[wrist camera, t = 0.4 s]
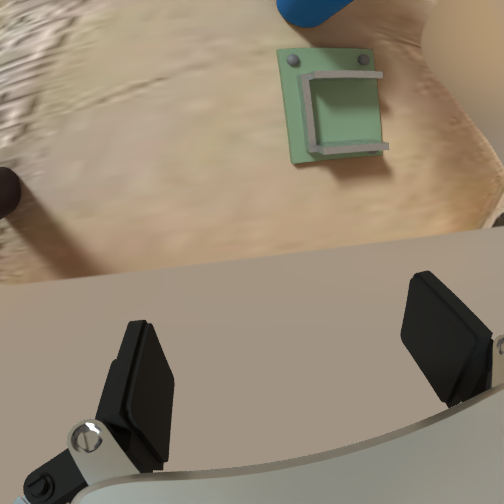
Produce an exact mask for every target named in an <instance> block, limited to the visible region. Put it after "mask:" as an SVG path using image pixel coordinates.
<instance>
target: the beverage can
mask: <svg viewBox="0 0 504 504" xmlns="http://www.w3.org/2000/svg"><path fill="white" fill-rule="evenodd" d="M352 1H353V0H277V8H278V10H279V12H280V14H281V15H282V16H283V18H285V19H286V20H287V21H288V22H290V23H292V24H294V25H296V26H299V27H315V26H318V25H320V24H322V23H323V22H324V21H326V20H327V19H328V18H330V17H331V16H332V15H334V14H335V13H336V12H338V11H339V10H341V9H342V8H343V7H345V6H346V5H348V4H349V3H350V2H352Z"/></svg>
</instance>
